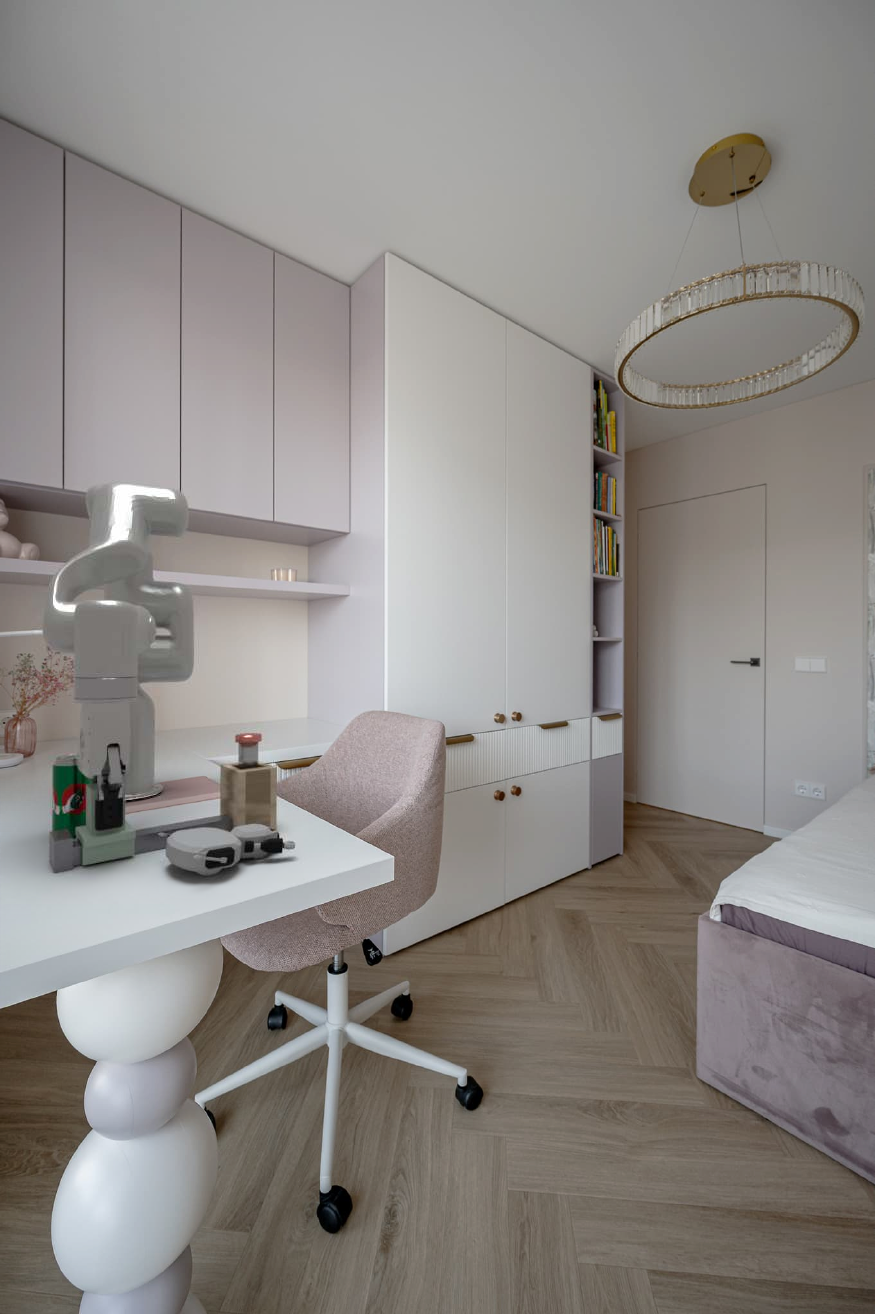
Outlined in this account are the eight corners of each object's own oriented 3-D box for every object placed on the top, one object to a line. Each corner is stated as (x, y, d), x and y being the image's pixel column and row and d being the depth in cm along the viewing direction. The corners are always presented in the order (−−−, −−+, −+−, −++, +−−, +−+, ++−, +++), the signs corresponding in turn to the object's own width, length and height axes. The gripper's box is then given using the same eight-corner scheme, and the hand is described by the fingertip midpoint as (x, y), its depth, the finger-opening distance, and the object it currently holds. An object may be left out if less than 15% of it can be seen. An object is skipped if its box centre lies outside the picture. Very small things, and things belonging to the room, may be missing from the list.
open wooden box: (220, 826, 91) (220, 764, 91) (256, 819, 95) (256, 760, 95) (238, 838, 85) (239, 772, 85) (276, 830, 89) (276, 767, 89)
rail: (49, 861, 75) (49, 831, 75) (229, 827, 90) (229, 802, 90) (54, 872, 71) (54, 841, 71) (241, 834, 87) (241, 809, 87)
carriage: (75, 852, 78) (76, 783, 78) (124, 843, 82) (124, 777, 82) (83, 866, 72) (84, 793, 72) (135, 856, 76) (136, 786, 76)
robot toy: (256, 845, 85) (151, 863, 74) (259, 815, 85) (154, 828, 75) (299, 867, 76) (187, 890, 66) (302, 833, 77) (190, 851, 66)
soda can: (98, 830, 89) (99, 754, 89) (75, 840, 84) (75, 759, 84) (69, 829, 89) (69, 753, 89) (43, 839, 84) (44, 759, 84)
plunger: (231, 771, 90) (231, 734, 90) (255, 768, 93) (255, 732, 93) (240, 776, 87) (240, 737, 87) (265, 772, 90) (265, 735, 90)
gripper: (65, 688, 81) (64, 815, 81) (84, 695, 68) (83, 846, 68) (123, 687, 86) (123, 807, 86) (152, 693, 73) (151, 833, 73)
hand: (105, 822), depth 77 cm, fingers closed on carriage, 4 cm apart
